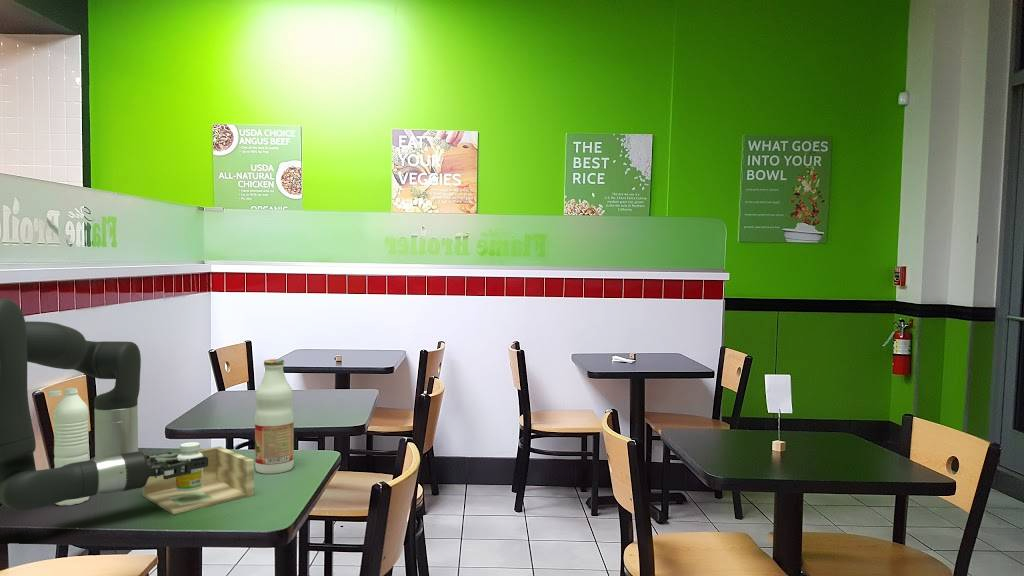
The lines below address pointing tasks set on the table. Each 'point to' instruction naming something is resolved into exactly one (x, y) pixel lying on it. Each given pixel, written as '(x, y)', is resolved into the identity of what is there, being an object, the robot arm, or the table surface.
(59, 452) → the water bottle
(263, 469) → the fruit juice
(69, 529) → the table surface
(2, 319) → the robot arm
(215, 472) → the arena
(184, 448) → the supplement bottle
